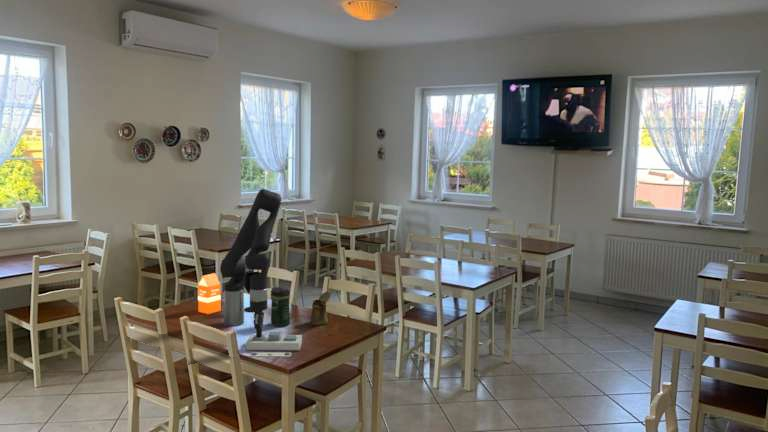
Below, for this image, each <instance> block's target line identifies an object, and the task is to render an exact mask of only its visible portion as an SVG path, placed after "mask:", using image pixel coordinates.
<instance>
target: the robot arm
mask: <svg viewBox="0 0 768 432" xmlns="http://www.w3.org/2000/svg"><path fill="white" fill-rule="evenodd" d="M255 196H256V197H255V199H254V201H253V203H252V206H251V208H250V211H249V212H248V215H247V217H246V218H245V220H244V222H243V224H242V226H241V227H240V230H239V232H238V234H237V236H236V238H235V240H234V242H233V243H232V245H231V247H230V249H229V250H228V252H227V254H226V255H225V257H224V258H223V259H222V261H221V264H220V266H219V267H220V268H219V269H220V270H219V271H220V273H221V276H223V277H224V278H229V280H228V281H227V282H225V284H224V291H223V293H224V305H223V325H224V326H231V327H232V326H233V327H234V326H235V327H236V326H241V325H243V324H244V323H245V311H244V309H245V305H244V304H245V300H244V295H245V294H244V293H245V292H244V289H245V287H244V284H245V273H246V268H247V269H248V270H251V271H252V270H255V271H260V272H261V273H260V274H256V275H252V276H251V278H250V293H249V307H250V309H251V310H252V311H255V312H254V314H253V322H252V323H253V325H254V330H256V332H255V335H256V337H261V336H262V335H263V325H264V318H265V313H264V311H266V310H267V309H268V290H267V289H268V288H267V284H268V283H267V280H268V272H269V268H270V266H271V257H270V256H269V254H267V253H264V252H267V251H268V250H269V248H270V244H271V238H272V232H273V228H274V226H275V223H276V220H277V217H278V213H279V211H280V207H281V203H282V197H281V195H280V194H279V193H277V192H274V191H272V190H268V189H264V188H261V189H260V190H259V191H258V192H257V193H256V195H255ZM260 210H263V211H266V212H269V215H268V217H267V219H266V220H265V221H264V222H263V223H262V224H260V220H259V212H260ZM245 254H247V255H246V257H245V260H244V259H243V258H242V257H243V256H244V255H245Z"/></svg>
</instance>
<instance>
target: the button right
mask: <svg viewBox="0 0 768 432" xmlns="http://www.w3.org/2000/svg"><path fill="white" fill-rule="evenodd" d="M285 335H286V337H285V341H296V335H297V334H285Z"/></svg>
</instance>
